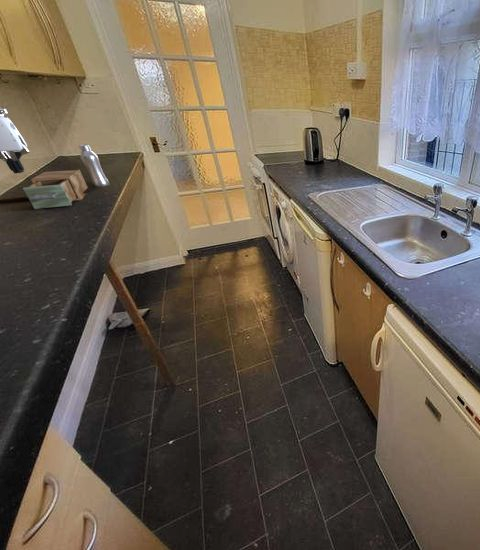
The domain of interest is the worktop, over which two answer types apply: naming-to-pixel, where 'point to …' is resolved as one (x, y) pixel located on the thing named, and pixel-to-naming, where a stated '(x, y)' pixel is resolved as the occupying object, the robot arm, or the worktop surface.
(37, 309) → the worktop surface
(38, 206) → the drawer
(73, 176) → the cabinet
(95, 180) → the silver metal bottle
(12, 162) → the robot arm
